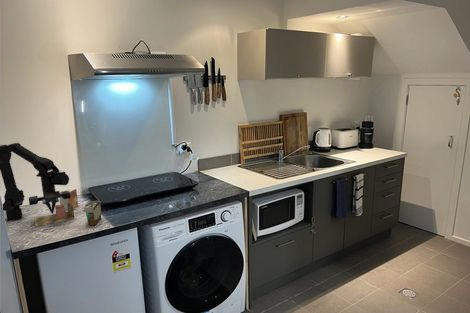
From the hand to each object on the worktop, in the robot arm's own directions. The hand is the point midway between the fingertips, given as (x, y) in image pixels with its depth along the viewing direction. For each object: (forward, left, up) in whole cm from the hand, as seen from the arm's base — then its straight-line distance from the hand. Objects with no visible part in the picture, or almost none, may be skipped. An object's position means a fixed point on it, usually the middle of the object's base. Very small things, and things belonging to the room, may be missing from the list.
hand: (52, 213), depth 177 cm
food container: (+17, -15, -4) cm, 23 cm away
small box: (+10, +15, -4) cm, 18 cm away
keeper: (+4, 0, -3) cm, 5 cm away
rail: (+1, 0, -4) cm, 4 cm away
